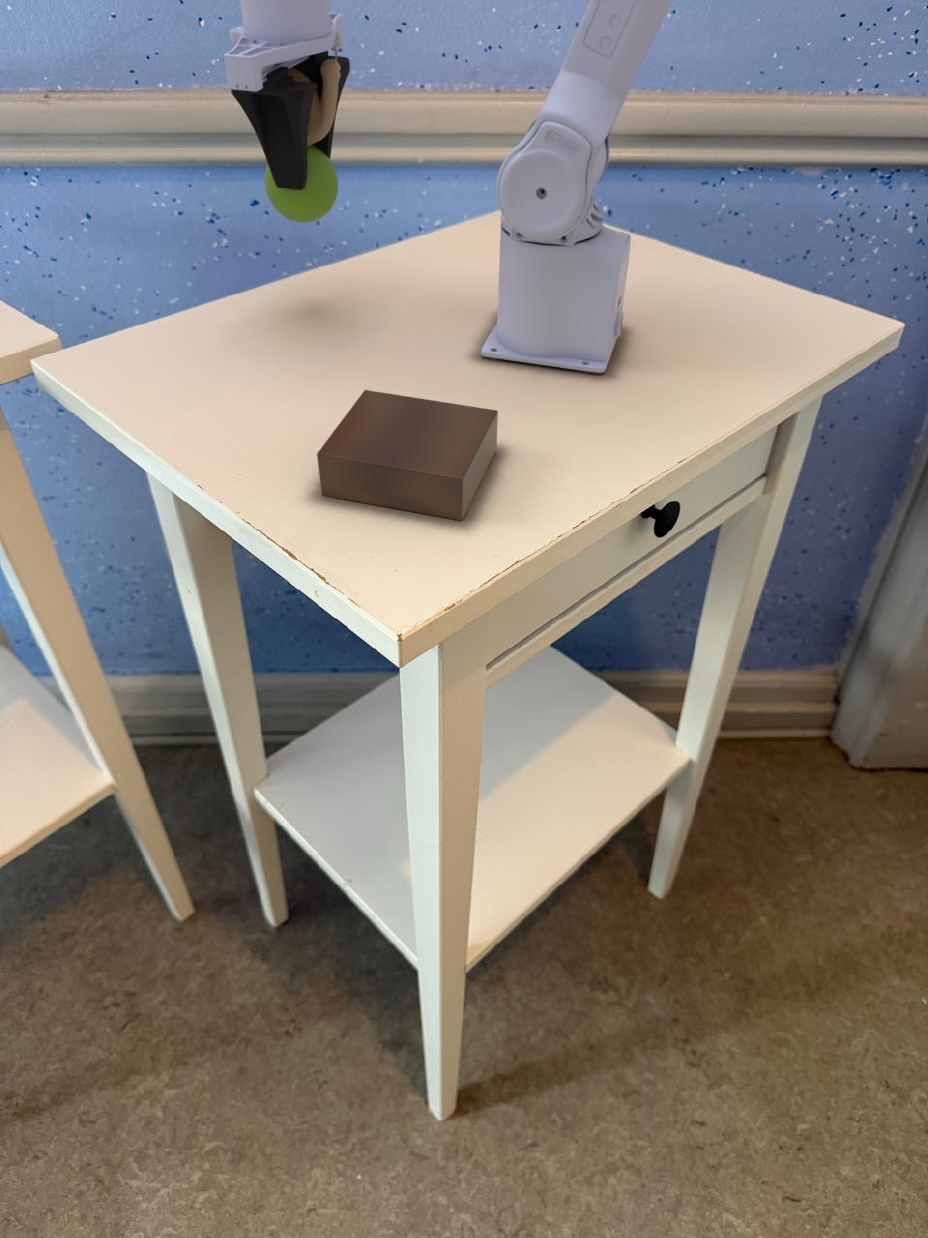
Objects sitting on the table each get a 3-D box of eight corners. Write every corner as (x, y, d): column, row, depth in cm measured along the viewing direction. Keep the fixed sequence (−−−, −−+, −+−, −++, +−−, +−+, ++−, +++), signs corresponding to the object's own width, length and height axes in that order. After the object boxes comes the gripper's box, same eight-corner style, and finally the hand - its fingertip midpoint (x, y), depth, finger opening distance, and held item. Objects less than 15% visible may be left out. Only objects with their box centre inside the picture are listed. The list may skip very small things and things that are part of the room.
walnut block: (496, 450, 59) (498, 409, 57) (462, 521, 54) (462, 478, 52) (367, 429, 61) (364, 389, 59) (321, 495, 56) (316, 453, 54)
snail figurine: (349, 234, 68) (333, 50, 60) (265, 233, 68) (236, 50, 60) (357, 206, 72) (343, 29, 64) (277, 205, 72) (251, 29, 64)
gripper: (271, -66, 64) (294, 144, 73) (164, -37, 54) (206, 204, 63) (365, -61, 62) (376, 153, 72) (273, -30, 52) (300, 215, 61)
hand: (303, 178), depth 67 cm, fingers closed on snail figurine, 3 cm apart
